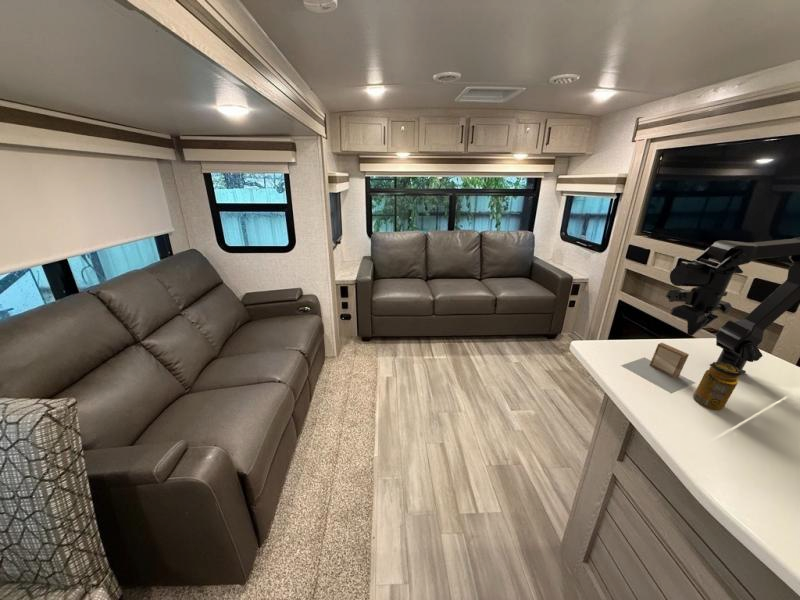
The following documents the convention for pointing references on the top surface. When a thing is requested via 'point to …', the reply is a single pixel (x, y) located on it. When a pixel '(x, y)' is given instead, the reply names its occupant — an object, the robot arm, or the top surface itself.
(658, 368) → the wooden block
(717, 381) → the condiment
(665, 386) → the mat
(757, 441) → the top surface
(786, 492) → the top surface
